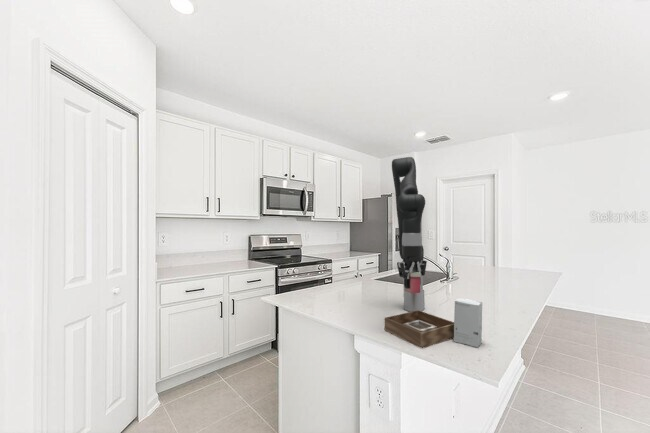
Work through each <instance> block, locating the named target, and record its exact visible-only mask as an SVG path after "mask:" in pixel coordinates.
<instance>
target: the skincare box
mask: <svg viewBox="0 0 650 433" xmlns="http://www.w3.org/2000/svg"><path fill="white" fill-rule="evenodd" d="M453 314H454V317H453V318H454V321H453V322H454V338H453V341H454V342H455V343H459V344H463V345H467V346H471V347H474V348H479V347H480V346H481V344H482V340H483V339H482V337H483V334H482V332H483V302H482V301H478V300H474V299H468V298H467V299H466V298H461V297H458V298H457V299H455V300H454V313H453Z"/></svg>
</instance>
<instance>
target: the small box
mask: <svg viewBox="0 0 650 433" xmlns="http://www.w3.org/2000/svg"><path fill="white" fill-rule="evenodd" d="M409 279H410V288H409V289H407V288H405V291H407V292H409V293H420V273H419V272H415V271H412V273H410V278H409Z"/></svg>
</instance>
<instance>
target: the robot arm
mask: <svg viewBox="0 0 650 433" xmlns="http://www.w3.org/2000/svg"><path fill="white" fill-rule="evenodd" d="M416 164H417V163H416V161H415V159H414V157H412V156H407V157H398V158H394V159H392V161H391V171H392V178H393V185H394V191H395V192H394V193H395V204H396V205H395V206H396V216H397V217H396V218H397V223H398V250H399V256H400V258H401V261H398V262H397V264H396V267H397V271H398V276H399V277H400V278H402V280H403V282H402V283H403V309H404V310H405V311H408V312H412V311H416V310H419V311H422V312H424V311H425V306H426V305H425V304H426V303H425V290H424V285H423V284H424V282H423V281H424V280H423V279H424V277H423V276H425V275H426V269H427V260H424V255H425V254H424V253H425V252H424V251H425V250H424V246H423V242H422V241H423V239H422V238H423V237H422V218H423V213H424V211H425V210H424V209H425V206H426V198H425V196H423V194H420V193H419V190H418V186H417V167H416ZM400 178H402V179H400ZM412 271H415V272H419V273H420V293H409V292H407V291H405V288H407V289H409V288H410V279H409V278H410V273H412Z"/></svg>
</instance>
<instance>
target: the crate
mask: <svg viewBox="0 0 650 433" xmlns="http://www.w3.org/2000/svg"><path fill="white" fill-rule="evenodd" d="M384 331H386V332H387V333H389V334H392V335H394V336H395V337H398V338H400V339H402V340H404V341H406V342H408V343H410V344H411V345H412V344H413V345H414V346H416V347H419V348H421V349H424V348H427V347H431V346H433V344H434V345H436V344H439V343H443V342H446V341H449V340H452V339H454V321H451V320H448V319H447V318H446V319H445V318H442V317H440V316H436V315H434V314H430V313H428V312H425V311H419V310H416V311H412V312H411V311H408V312H404V313H399V314H396V315H391V316H386V317H384ZM430 345H431V346H430Z"/></svg>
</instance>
